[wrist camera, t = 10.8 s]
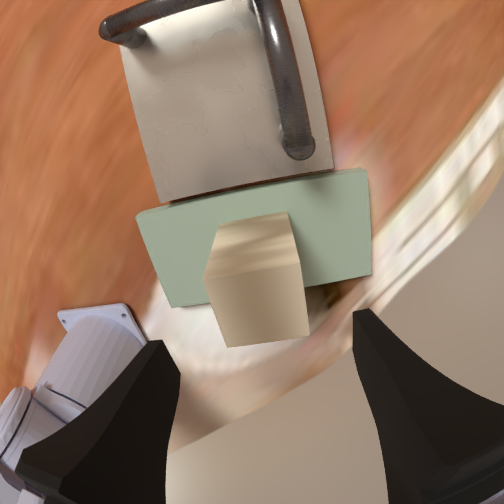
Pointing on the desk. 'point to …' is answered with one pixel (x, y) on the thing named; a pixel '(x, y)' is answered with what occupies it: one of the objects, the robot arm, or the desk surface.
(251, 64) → the beige flat handled piece
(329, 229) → the pad
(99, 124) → the desk surface
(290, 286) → the maple block
